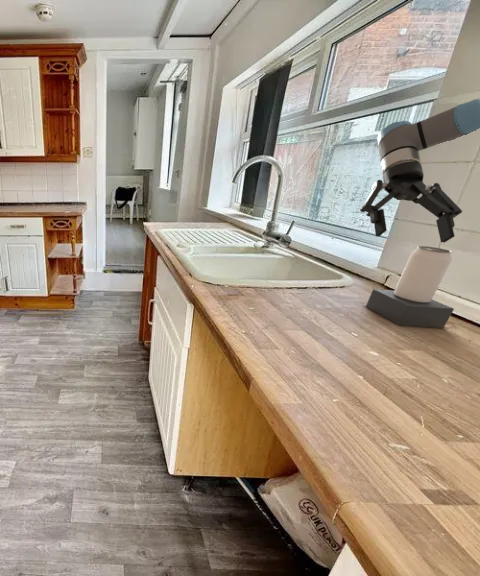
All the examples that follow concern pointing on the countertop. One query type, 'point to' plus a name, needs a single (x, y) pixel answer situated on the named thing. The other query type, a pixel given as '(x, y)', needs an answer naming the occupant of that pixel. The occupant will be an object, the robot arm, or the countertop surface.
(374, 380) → the countertop surface
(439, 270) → the can
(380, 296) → the grey block
